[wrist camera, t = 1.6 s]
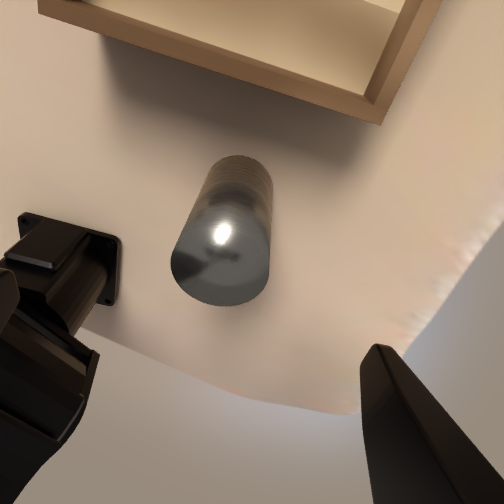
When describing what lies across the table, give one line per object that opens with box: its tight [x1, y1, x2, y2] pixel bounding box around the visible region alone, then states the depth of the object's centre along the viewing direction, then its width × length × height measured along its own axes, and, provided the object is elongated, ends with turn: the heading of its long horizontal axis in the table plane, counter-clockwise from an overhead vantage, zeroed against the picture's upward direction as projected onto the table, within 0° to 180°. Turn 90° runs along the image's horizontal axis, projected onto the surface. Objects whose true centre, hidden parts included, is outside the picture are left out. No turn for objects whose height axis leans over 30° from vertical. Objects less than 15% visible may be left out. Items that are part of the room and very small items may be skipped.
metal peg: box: [171, 155, 272, 306], centre depth 17 cm, size 4×4×8 cm
